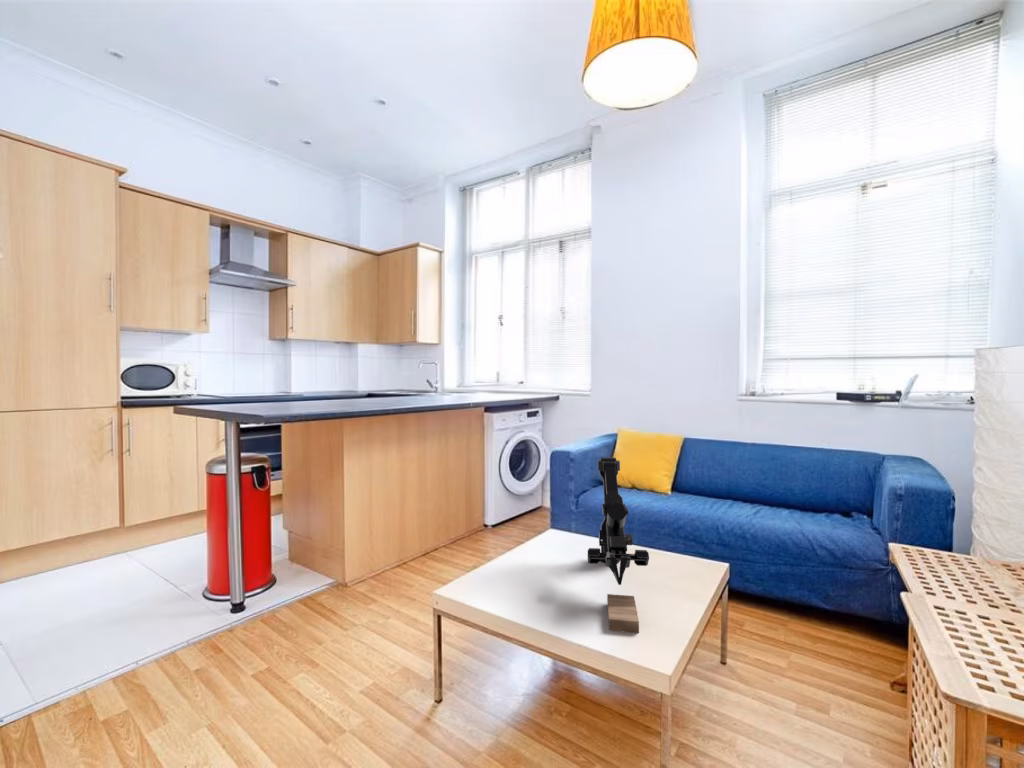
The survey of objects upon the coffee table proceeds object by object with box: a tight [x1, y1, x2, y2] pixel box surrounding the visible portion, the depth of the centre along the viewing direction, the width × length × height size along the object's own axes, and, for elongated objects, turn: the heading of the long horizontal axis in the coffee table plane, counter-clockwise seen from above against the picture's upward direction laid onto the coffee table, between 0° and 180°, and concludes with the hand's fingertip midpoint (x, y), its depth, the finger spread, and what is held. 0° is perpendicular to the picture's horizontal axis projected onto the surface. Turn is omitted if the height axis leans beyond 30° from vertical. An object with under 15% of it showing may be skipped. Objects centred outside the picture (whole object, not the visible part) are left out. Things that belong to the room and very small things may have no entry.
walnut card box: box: [606, 593, 640, 634], centre depth 129 cm, size 4×8×15 cm
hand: (619, 584), depth 134 cm, fingers closed
